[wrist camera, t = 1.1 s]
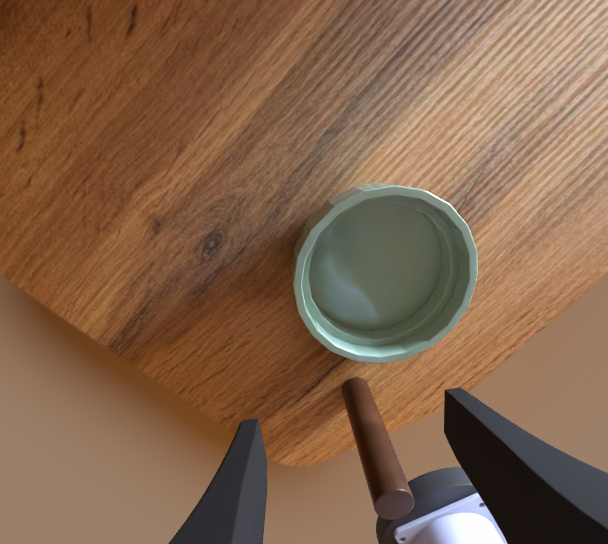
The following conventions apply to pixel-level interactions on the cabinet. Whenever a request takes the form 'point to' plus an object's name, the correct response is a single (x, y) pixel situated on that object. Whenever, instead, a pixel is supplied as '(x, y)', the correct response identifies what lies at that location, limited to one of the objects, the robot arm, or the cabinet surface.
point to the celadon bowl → (383, 272)
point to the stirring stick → (376, 452)
